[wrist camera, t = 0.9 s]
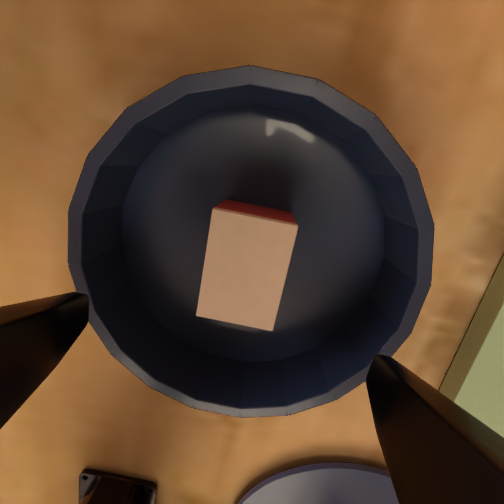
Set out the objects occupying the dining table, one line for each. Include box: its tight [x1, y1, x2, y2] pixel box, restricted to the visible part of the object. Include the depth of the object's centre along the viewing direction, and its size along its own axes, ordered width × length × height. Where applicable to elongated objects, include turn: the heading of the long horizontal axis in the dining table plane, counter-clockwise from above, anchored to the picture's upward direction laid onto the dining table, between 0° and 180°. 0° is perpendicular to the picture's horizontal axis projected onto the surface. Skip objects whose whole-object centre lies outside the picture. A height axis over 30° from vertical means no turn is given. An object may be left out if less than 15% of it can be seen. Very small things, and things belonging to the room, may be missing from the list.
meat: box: [196, 199, 298, 331], centre depth 16 cm, size 6×4×4 cm
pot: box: [68, 65, 434, 418], centre depth 16 cm, size 17×17×4 cm
